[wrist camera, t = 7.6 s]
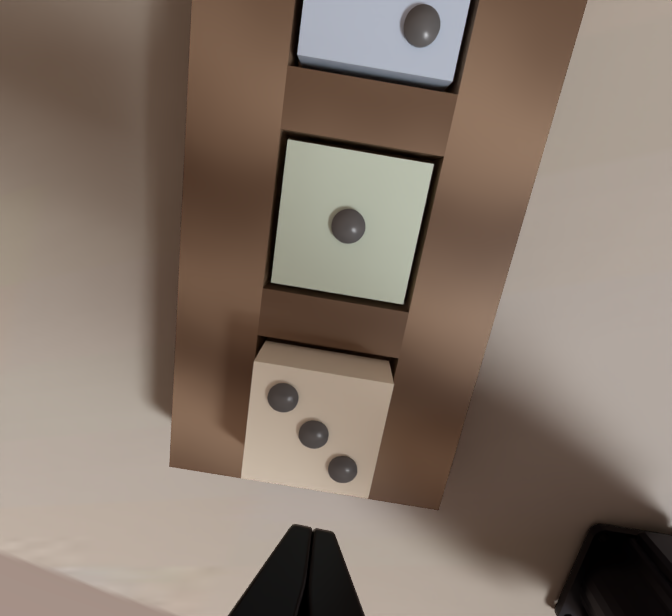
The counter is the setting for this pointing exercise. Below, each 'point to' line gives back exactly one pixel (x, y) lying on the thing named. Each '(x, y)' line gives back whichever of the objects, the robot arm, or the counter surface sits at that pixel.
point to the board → (433, 239)
